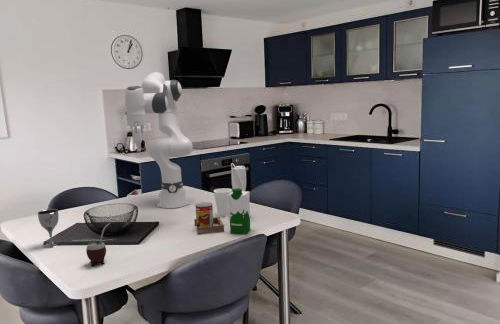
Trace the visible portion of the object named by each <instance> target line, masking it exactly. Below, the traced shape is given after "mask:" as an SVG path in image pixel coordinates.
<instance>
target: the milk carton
mask: <svg viewBox="0 0 500 324" xmlns="http://www.w3.org/2000/svg"><path fill="white" fill-rule="evenodd" d="M250 194H251V193H250V191H248V190H247V191H246V190H245V191H242V189H233V188H232V192H231V193H230V194H228V198H229V228H230V229H229V230H230V234H237V235H246V234H248V232H249V231H250V230H251V210H250Z"/></svg>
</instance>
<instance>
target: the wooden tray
mask: <svg viewBox="0 0 500 324" xmlns="http://www.w3.org/2000/svg"><path fill="white" fill-rule="evenodd" d="M193 221H194V226H195V227H196V234H197V236H198V235H206V234H216V233H224V232H225V225H224V222H223V221H222V219H221V216H215V217H214V216H213V225H214V226H205V227H197V223H196V218H194V220H193Z"/></svg>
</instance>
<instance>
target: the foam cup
mask: <svg viewBox="0 0 500 324" xmlns="http://www.w3.org/2000/svg"><path fill="white" fill-rule="evenodd" d="M231 192H233V188H228V187H227V188H215V189H214V190H213V196H214V201H215V204H216V205H215V206H216V211H217V217H228V215H229V198H228V194H230V193H231ZM229 216H230V215H229Z"/></svg>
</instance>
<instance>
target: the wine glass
mask: <svg viewBox="0 0 500 324" xmlns="http://www.w3.org/2000/svg"><path fill="white" fill-rule="evenodd" d="M37 218H38V222H39V224H40V226H41V227H42V228H43V229H44V230H46V231H47V233H48V236H49V242H48V243H49V244H48V243H45V244H46V245H45V244H44V245H42V247H43V248H45V249H51V248H56V247H58V246H57V245H56V244H54V242H53V232H54V229H55V228H56V227H57V225H58V223H59V210H58V209H56V208H50V209H43V210H40V211H38V212H37Z"/></svg>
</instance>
